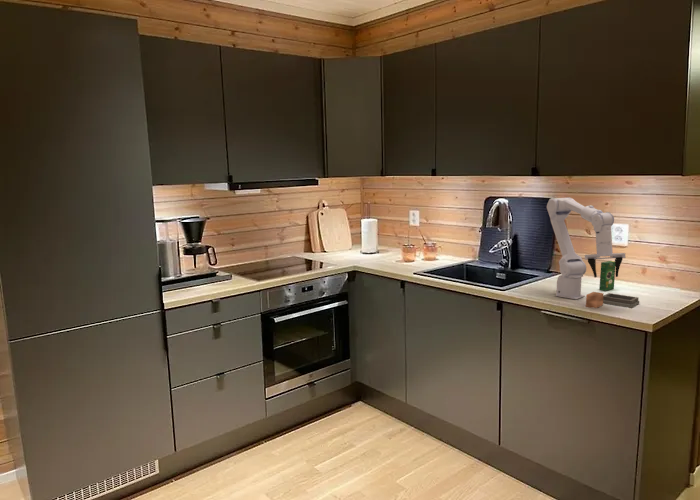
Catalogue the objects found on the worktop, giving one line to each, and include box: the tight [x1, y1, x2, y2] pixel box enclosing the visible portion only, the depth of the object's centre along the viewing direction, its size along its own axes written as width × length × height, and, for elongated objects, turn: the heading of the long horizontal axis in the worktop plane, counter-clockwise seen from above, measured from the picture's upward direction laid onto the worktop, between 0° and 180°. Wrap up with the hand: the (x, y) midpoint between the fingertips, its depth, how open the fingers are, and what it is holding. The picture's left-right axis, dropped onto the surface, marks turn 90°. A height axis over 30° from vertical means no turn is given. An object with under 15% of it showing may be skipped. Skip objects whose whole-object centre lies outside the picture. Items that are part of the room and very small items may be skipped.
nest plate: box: [603, 292, 640, 309], centre depth 218 cm, size 12×9×3 cm
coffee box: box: [598, 260, 616, 292], centre depth 240 cm, size 8×3×13 cm, turn 124°
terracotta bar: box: [585, 291, 605, 309], centre depth 215 cm, size 4×7×5 cm, turn 133°
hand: (606, 277), depth 210 cm, fingers open, 7 cm apart
